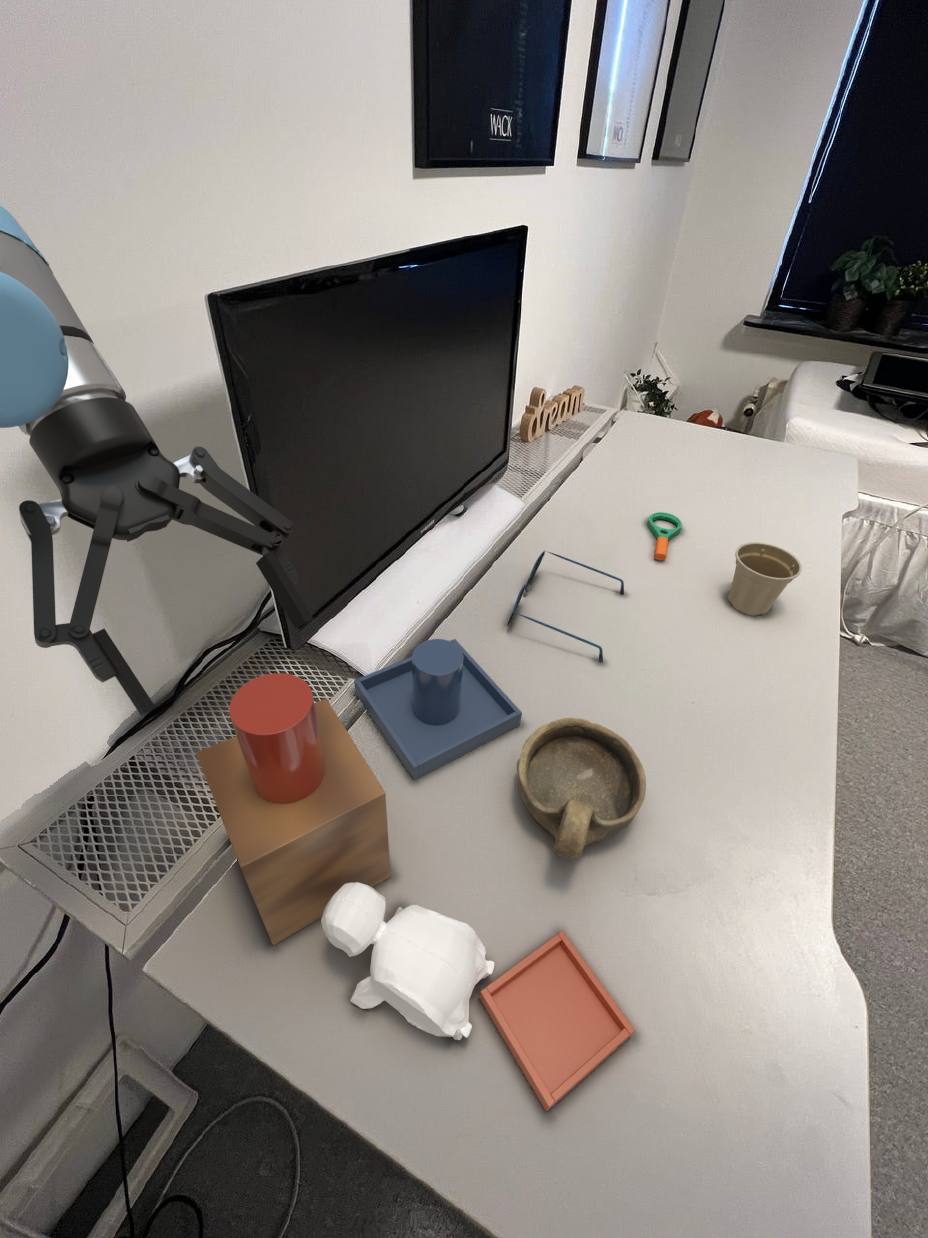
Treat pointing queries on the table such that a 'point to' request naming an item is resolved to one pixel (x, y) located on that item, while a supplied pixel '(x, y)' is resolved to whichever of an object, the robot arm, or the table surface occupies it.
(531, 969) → the red tray
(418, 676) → the slate blue cylinder
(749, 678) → the table surface
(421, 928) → the white turtle figurine
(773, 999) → the table surface
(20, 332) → the robot arm
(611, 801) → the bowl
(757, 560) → the flower pot
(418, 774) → the blue tray
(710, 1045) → the table surface
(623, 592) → the sunglasses
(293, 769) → the red cylinder
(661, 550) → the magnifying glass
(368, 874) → the brown wooden block
